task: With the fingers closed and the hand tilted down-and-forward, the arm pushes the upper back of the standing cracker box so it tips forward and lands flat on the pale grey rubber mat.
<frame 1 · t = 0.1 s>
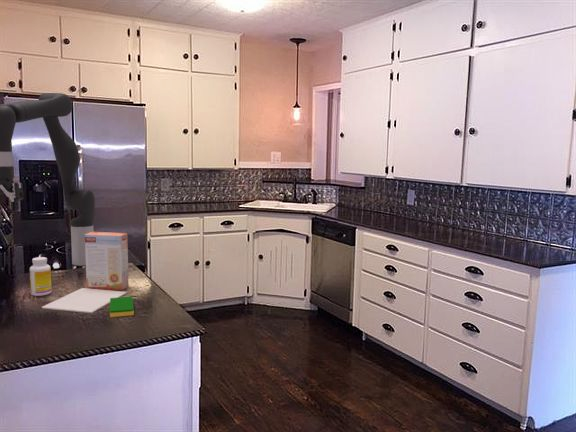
hand: (3, 211, 167), 29 cm above the countertop, tool pointing down, fingers open, 8 cm apart
dish sponge: (121, 311, 158), on the countertop
mat: (86, 300, 166), on the countertop
supplement bottle: (41, 294, 172), on the countertop
cracker box: (107, 288, 181), on the countertop
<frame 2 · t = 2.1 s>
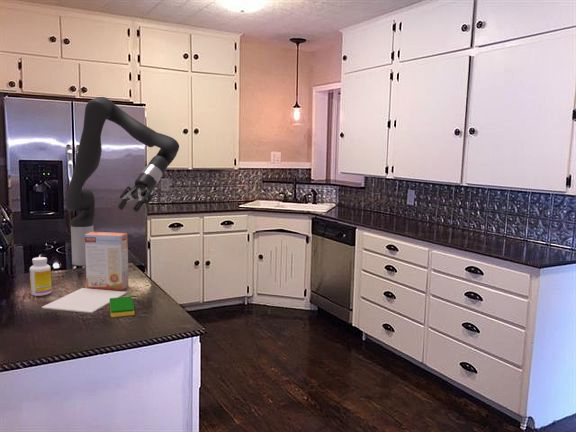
hand: (127, 209, 186), 29 cm above the countertop, tool tilted 45°, fingers open, 8 cm apart
nothing on the countertop moved.
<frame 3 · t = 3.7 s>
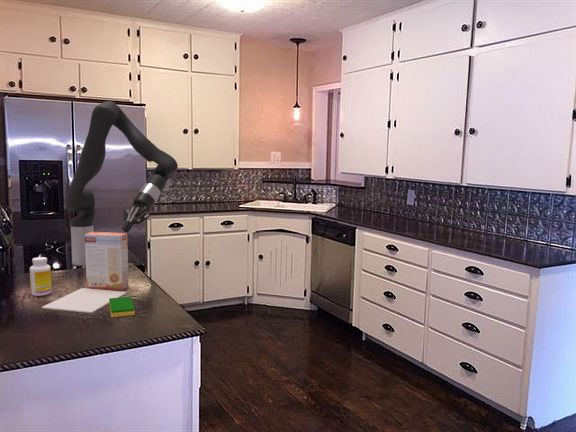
hand: (124, 231, 185), 20 cm above the countertop, tool tilted 45°, fingers closed
nothing on the countertop moved.
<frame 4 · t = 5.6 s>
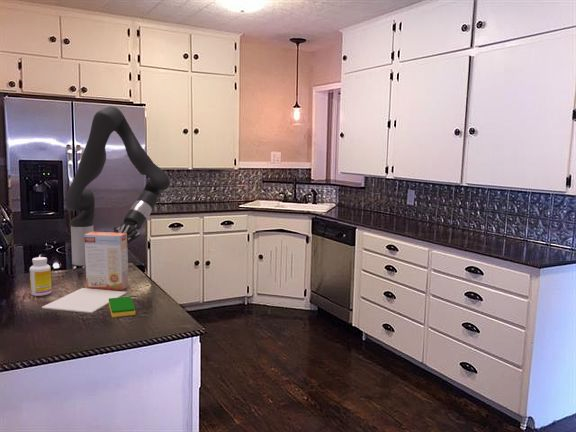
hand: (114, 250, 182), 14 cm above the countertop, tool tilted 45°, fingers closed
cracker box: (107, 288, 181), on the countertop, touching gripper
everything else where it was.
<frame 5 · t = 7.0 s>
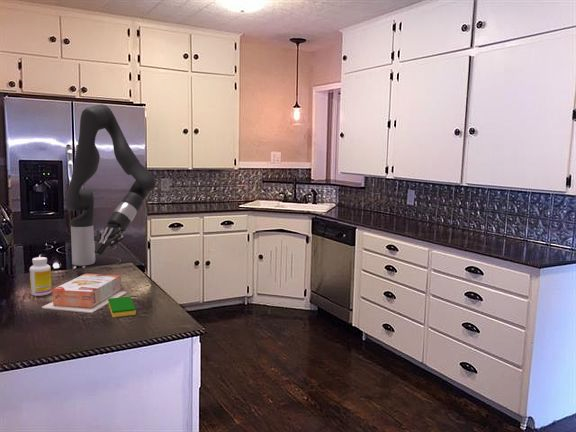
hand: (97, 253, 175), 14 cm above the countertop, tool tilted 45°, fingers closed
cracker box: (103, 280, 177), point 3 cm above the countertop, touching mat
everything else where it was.
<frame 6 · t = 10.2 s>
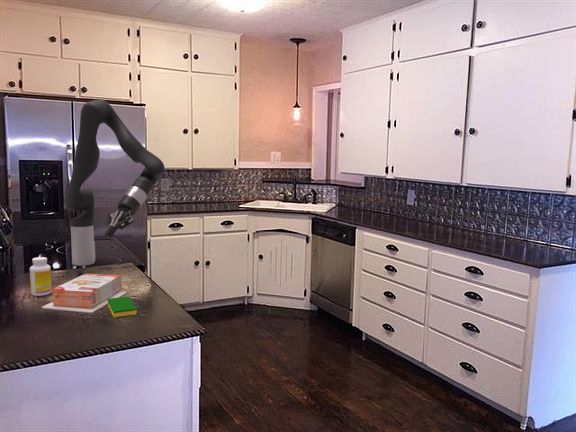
hand: (107, 236, 179), 20 cm above the countertop, tool tilted 45°, fingers closed
nothing on the countertop moved.
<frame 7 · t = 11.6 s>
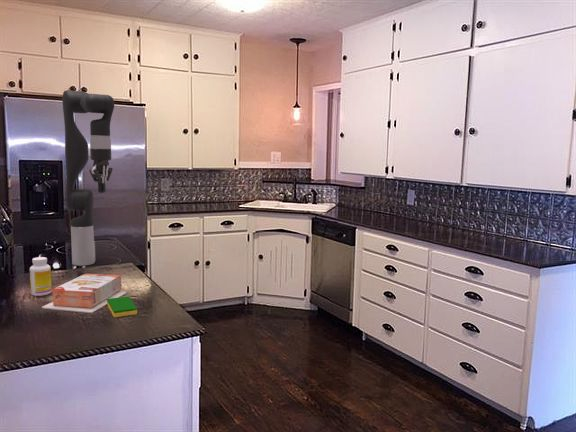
hand: (101, 192, 187), 35 cm above the countertop, tool pointing down, fingers closed
nothing on the countertop moved.
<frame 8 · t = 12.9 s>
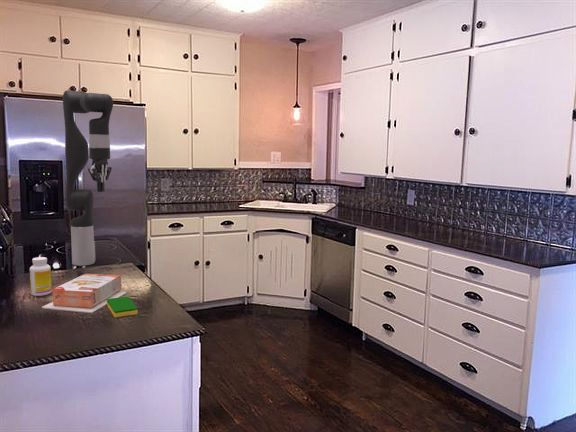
hand: (100, 191, 187), 35 cm above the countertop, tool pointing down, fingers closed
nothing on the countertop moved.
at the end: cracker box tilted 91°; cracker box inside the target area (8.2 cm from its centre), point 3.5 cm above the countertop; the gripper is holding nothing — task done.
